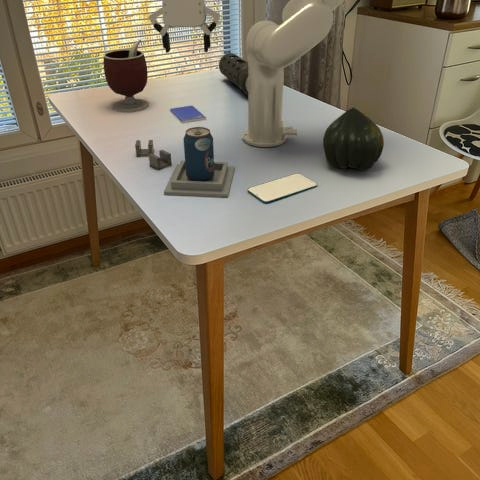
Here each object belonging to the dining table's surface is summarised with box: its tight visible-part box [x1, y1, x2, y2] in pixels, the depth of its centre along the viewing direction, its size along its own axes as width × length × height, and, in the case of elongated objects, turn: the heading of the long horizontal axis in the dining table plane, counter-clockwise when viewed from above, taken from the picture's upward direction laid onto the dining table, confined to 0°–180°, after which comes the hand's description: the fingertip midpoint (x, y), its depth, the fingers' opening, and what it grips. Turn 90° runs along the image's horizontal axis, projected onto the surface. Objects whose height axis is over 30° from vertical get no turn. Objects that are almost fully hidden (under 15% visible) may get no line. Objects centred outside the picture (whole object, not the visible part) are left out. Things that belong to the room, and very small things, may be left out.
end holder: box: [163, 159, 236, 198], centre depth 118 cm, size 15×15×3 cm
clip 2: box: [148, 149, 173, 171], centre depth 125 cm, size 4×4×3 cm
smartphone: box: [247, 173, 318, 205], centre depth 115 cm, size 8×1×16 cm
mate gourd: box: [102, 39, 150, 113], centre depth 160 cm, size 16×14×20 cm
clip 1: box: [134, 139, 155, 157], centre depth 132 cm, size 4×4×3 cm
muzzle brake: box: [218, 52, 249, 96], centre depth 178 cm, size 10×28×10 cm, turn 21°
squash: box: [322, 106, 385, 171], centre depth 123 cm, size 14×15×15 cm
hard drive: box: [169, 105, 207, 124], centre depth 157 cm, size 2×8×12 cm
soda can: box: [182, 126, 215, 182], centre depth 115 cm, size 7×7×12 cm
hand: (187, 51), depth 121 cm, fingers open, 9 cm apart
